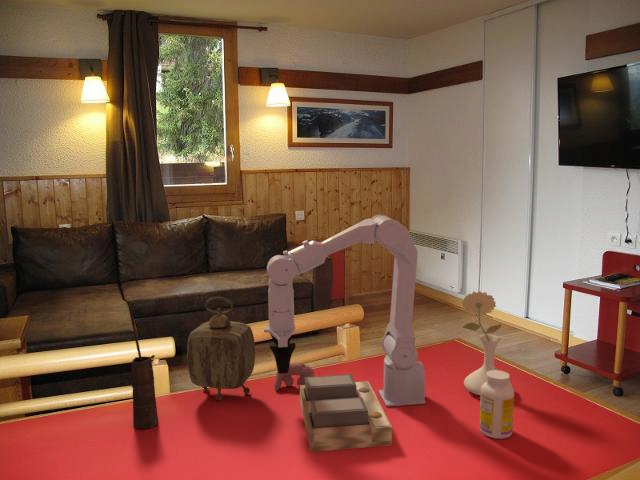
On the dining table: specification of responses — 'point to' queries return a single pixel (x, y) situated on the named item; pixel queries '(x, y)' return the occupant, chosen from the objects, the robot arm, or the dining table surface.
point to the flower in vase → (481, 338)
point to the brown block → (339, 412)
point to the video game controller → (293, 370)
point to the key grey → (330, 387)
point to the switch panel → (349, 436)
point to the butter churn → (143, 388)
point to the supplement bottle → (497, 405)
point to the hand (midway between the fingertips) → (282, 366)
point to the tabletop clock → (221, 352)
